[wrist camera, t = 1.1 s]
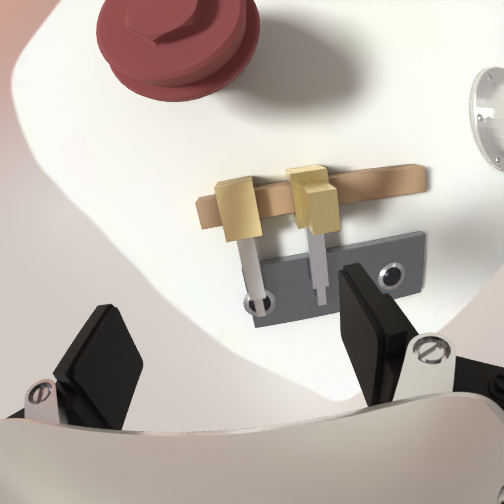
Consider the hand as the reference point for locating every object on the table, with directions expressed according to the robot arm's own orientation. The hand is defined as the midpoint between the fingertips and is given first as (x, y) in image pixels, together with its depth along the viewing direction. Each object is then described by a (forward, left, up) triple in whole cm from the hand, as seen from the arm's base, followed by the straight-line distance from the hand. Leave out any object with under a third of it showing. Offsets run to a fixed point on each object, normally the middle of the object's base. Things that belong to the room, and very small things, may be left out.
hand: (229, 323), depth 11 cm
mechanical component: (+1, -14, -18) cm, 23 cm away
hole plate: (-8, +10, -18) cm, 22 cm away
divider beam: (-7, +4, -18) cm, 20 cm away
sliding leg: (-6, +4, -18) cm, 19 cm away
